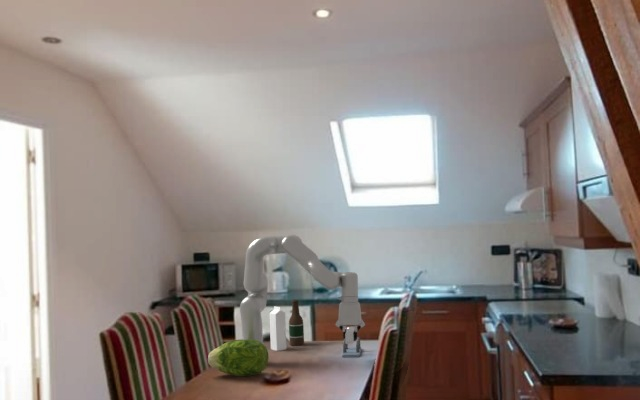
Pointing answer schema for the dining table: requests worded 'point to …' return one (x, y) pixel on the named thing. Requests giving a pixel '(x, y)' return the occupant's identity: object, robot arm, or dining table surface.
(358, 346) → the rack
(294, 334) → the beer bottle
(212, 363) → the lettuce
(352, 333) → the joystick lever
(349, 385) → the dining table surface
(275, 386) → the dining table surface
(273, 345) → the milk
